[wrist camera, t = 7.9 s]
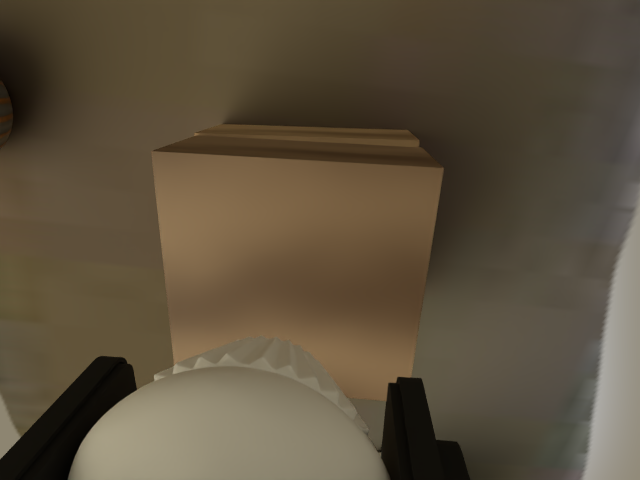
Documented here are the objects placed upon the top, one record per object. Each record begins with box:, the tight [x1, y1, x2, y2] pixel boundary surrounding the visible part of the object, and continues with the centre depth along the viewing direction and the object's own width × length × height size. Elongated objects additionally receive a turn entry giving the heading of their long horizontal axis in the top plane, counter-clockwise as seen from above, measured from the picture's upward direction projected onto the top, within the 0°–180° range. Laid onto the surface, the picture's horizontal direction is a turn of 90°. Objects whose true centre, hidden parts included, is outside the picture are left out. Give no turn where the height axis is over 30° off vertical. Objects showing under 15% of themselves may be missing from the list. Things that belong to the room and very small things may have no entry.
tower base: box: [194, 124, 419, 147], centre depth 22 cm, size 10×10×4 cm
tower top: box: [151, 135, 444, 401], centre depth 18 cm, size 10×10×4 cm
